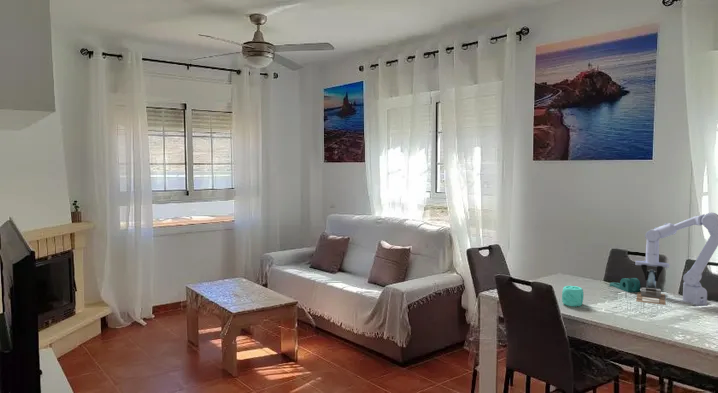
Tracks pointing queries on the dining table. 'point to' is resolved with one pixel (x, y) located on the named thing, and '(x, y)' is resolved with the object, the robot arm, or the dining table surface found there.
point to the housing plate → (662, 300)
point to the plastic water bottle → (651, 279)
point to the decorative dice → (572, 296)
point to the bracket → (628, 285)
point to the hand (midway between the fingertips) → (651, 280)
